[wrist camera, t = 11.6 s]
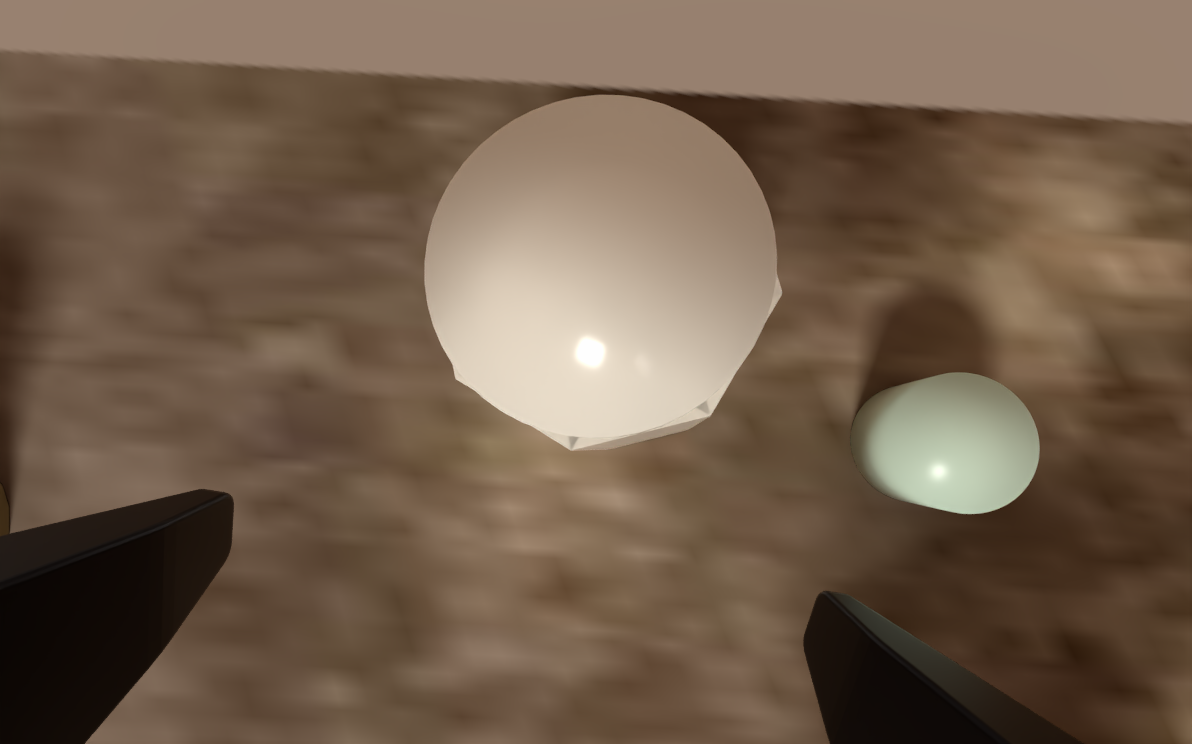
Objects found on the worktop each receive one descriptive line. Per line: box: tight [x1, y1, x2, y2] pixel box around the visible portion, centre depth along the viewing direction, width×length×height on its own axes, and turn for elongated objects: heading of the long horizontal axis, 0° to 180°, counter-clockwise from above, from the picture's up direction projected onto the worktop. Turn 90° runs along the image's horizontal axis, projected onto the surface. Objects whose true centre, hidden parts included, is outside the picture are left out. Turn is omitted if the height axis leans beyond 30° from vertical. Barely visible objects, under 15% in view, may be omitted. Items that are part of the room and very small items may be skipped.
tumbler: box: [425, 95, 782, 451], centre depth 16 cm, size 7×7×10 cm
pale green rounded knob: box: [850, 372, 1040, 514], centre depth 18 cm, size 4×4×4 cm
